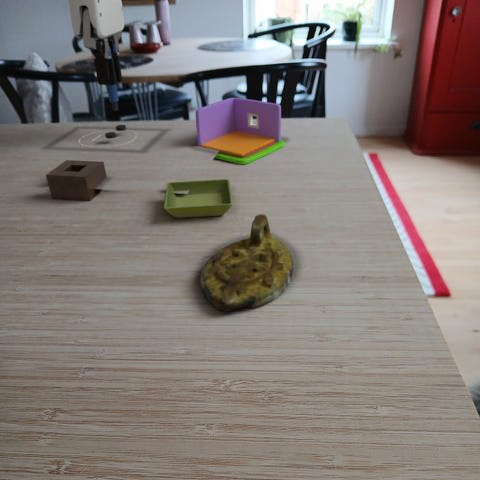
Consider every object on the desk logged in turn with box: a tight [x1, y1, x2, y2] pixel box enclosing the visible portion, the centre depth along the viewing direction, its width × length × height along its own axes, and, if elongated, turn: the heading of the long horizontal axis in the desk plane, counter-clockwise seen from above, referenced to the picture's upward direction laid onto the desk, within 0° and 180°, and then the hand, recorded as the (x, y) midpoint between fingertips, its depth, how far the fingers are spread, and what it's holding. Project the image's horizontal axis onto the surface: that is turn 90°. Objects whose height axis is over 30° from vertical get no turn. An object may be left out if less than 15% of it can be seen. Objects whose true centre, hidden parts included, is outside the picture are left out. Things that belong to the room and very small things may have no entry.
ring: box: [77, 128, 138, 149], centre depth 92 cm, size 18×12×1 cm, turn 77°
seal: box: [199, 213, 294, 312], centre depth 53 cm, size 9×5×15 cm
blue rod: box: [106, 46, 120, 112], centre depth 87 cm, size 2×2×10 cm
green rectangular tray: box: [163, 178, 234, 219], centre depth 68 cm, size 9×9×2 cm
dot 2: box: [115, 124, 127, 132], centre depth 92 cm, size 2×2×1 cm
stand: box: [45, 159, 108, 202], centre depth 74 cm, size 6×6×4 cm
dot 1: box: [104, 131, 117, 140], centre depth 89 cm, size 2×2×1 cm
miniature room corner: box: [195, 97, 286, 165], centre depth 86 cm, size 12×12×7 cm
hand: (110, 82), depth 88 cm, fingers closed on blue rod, 1 cm apart
